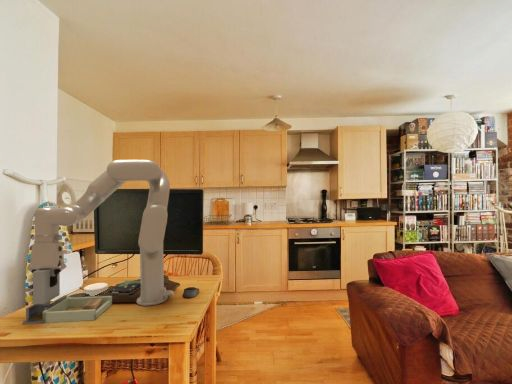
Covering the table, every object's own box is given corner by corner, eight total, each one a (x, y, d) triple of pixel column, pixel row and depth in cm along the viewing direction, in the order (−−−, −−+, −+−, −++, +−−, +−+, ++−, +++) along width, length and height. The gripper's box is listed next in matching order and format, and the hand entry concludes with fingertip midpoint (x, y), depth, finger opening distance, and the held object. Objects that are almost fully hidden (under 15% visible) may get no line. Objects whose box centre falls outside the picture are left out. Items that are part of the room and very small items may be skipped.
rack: (112, 304, 117) (112, 294, 117) (94, 320, 102) (94, 309, 102) (67, 306, 115) (67, 296, 115) (42, 322, 100) (42, 311, 100)
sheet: (59, 295, 112) (59, 265, 112) (44, 303, 103) (44, 271, 103) (49, 295, 112) (49, 265, 112) (33, 304, 103) (33, 271, 103)
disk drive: (131, 296, 127) (144, 285, 142) (131, 290, 127) (144, 280, 142) (108, 296, 127) (124, 285, 142) (108, 290, 127) (124, 280, 142)
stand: (69, 306, 116) (69, 294, 116) (44, 323, 100) (44, 309, 100) (50, 307, 115) (50, 294, 115) (22, 324, 99) (22, 310, 100)
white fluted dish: (99, 288, 138) (99, 281, 138) (112, 291, 134) (112, 283, 134) (79, 295, 130) (79, 287, 130) (92, 298, 125) (92, 290, 125)
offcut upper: (102, 303, 113) (102, 298, 113) (95, 311, 106) (95, 305, 106) (91, 304, 112) (91, 299, 112) (83, 312, 105) (83, 306, 105)
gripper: (74, 237, 112) (75, 282, 112) (31, 238, 111) (31, 284, 111) (63, 240, 105) (63, 288, 105) (16, 241, 103) (16, 290, 103)
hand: (47, 285), depth 108 cm, fingers closed on sheet, 4 cm apart
